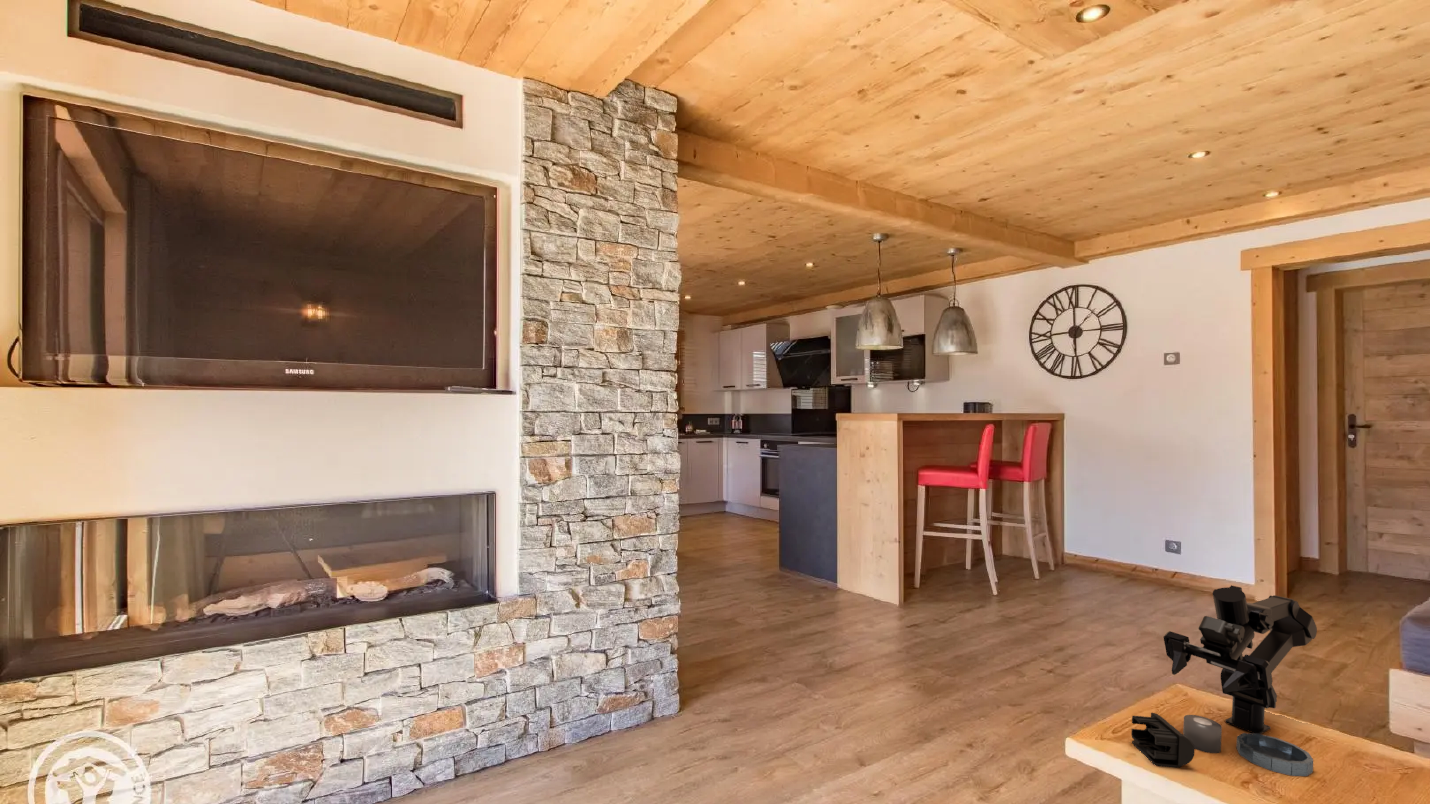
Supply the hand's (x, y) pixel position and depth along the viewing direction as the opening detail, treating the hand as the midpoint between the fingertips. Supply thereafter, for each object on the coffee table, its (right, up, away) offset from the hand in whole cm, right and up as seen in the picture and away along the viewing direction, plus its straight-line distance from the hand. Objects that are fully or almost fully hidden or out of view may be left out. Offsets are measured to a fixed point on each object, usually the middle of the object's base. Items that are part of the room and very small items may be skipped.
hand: (1197, 681), depth 136 cm
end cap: (-9, -15, -2) cm, 17 cm away
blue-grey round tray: (+14, -15, -2) cm, 21 cm away
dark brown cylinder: (+3, -15, +3) cm, 16 cm away
